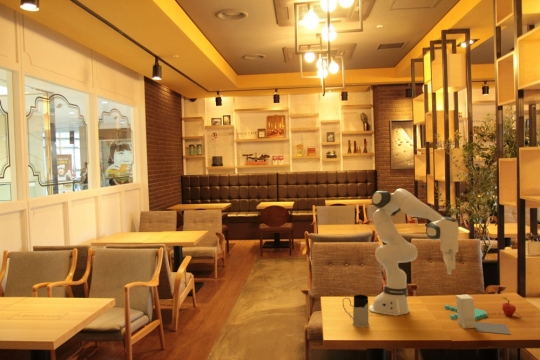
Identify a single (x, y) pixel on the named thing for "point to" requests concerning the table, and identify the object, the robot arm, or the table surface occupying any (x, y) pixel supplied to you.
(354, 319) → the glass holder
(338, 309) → the table surface
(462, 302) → the skincare box
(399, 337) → the table surface
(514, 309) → the apple
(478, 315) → the alien figure
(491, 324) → the mat
